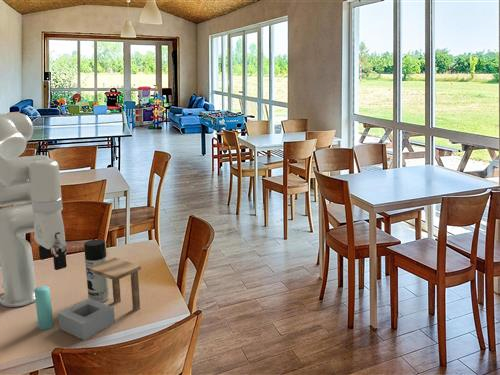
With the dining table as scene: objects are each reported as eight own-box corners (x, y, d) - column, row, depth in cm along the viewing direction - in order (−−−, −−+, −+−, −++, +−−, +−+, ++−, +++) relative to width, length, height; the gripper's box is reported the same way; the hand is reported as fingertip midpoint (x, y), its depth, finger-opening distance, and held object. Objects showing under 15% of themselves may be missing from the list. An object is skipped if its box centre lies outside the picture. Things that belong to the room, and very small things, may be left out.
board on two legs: (92, 311, 142) (89, 268, 139) (117, 298, 150) (114, 257, 147) (118, 321, 136) (115, 277, 132) (143, 308, 144) (140, 265, 140)
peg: (35, 327, 133) (31, 290, 130) (48, 321, 136) (44, 284, 133) (43, 331, 130) (39, 293, 128) (56, 325, 134) (52, 288, 131)
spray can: (84, 299, 149) (79, 242, 145) (102, 292, 155) (97, 237, 150) (96, 305, 145) (91, 247, 141) (113, 298, 151) (109, 241, 146)
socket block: (59, 328, 132) (58, 313, 131) (91, 312, 141) (89, 298, 140) (84, 340, 126) (82, 323, 125) (115, 322, 135) (113, 307, 134)
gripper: (20, 201, 126) (27, 258, 130) (46, 215, 115) (52, 277, 119) (47, 196, 131) (53, 251, 136) (75, 209, 120) (80, 268, 124)
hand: (53, 263), depth 127 cm, fingers open, 9 cm apart
